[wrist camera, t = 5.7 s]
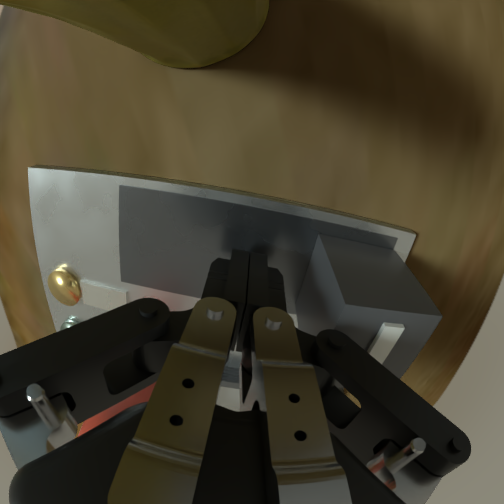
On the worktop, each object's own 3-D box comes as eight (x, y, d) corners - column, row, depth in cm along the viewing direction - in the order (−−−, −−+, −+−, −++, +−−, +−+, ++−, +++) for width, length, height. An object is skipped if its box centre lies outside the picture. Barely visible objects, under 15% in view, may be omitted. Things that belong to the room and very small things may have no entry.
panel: (34, 164, 12) (13, 173, 10) (411, 229, 13) (427, 245, 11) (83, 390, 21) (76, 404, 20) (299, 433, 22) (300, 449, 21)
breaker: (318, 233, 13) (346, 308, 8) (395, 250, 13) (445, 319, 8) (295, 305, 14) (305, 389, 10) (365, 315, 15) (394, 391, 10)
